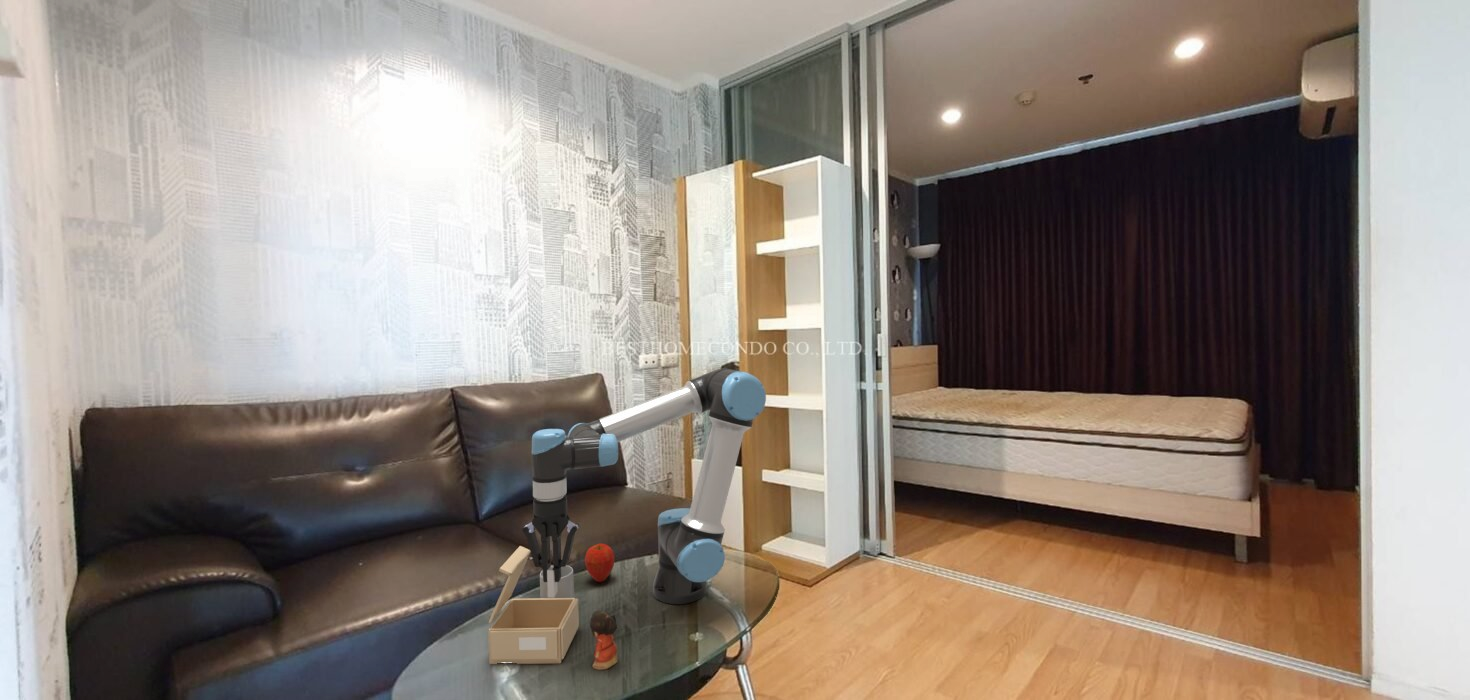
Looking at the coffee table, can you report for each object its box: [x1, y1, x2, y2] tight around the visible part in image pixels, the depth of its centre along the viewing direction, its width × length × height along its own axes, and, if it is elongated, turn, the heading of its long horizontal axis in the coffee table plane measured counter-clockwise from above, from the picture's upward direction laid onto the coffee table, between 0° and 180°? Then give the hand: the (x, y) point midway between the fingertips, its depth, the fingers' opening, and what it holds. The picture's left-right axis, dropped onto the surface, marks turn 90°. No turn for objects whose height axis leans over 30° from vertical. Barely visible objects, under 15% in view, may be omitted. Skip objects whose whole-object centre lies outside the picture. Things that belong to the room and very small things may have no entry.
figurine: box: [589, 610, 619, 671], centre depth 131 cm, size 6×6×12 cm
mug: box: [539, 565, 575, 598], centre depth 155 cm, size 12×8×11 cm
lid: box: [488, 545, 531, 624], centre depth 137 cm, size 12×13×3 cm
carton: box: [488, 597, 580, 665], centre depth 138 cm, size 16×15×8 cm
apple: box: [584, 543, 615, 583], centre depth 171 cm, size 9×8×11 cm
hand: (552, 594), depth 137 cm, fingers closed
